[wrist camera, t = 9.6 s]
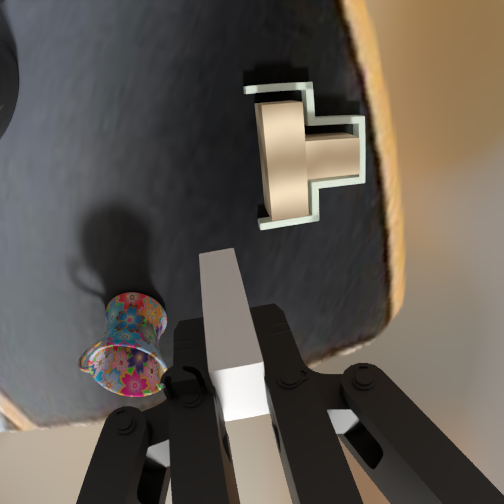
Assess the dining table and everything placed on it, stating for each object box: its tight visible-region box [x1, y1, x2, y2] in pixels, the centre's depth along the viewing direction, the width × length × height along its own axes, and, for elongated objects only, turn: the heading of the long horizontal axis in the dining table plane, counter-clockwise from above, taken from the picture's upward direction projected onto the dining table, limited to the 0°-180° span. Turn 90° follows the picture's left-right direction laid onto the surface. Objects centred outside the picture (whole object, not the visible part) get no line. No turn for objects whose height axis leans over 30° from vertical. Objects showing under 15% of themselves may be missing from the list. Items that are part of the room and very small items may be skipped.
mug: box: [78, 292, 167, 397], centre depth 37 cm, size 12×9×11 cm
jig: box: [243, 82, 365, 230], centre depth 34 cm, size 16×13×2 cm
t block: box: [255, 100, 360, 221], centre depth 33 cm, size 12×10×4 cm
